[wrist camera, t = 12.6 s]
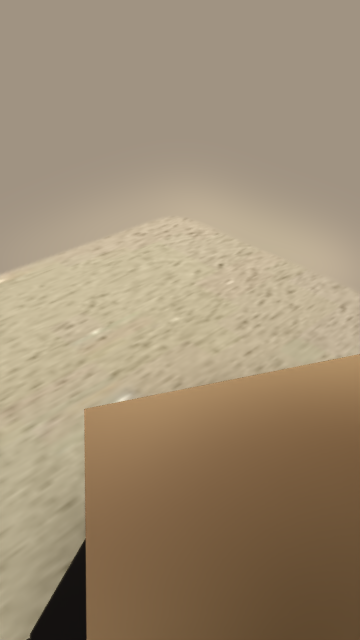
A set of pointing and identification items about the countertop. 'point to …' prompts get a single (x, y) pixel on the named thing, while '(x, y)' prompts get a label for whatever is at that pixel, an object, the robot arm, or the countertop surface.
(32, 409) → the countertop surface
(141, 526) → the oak block
